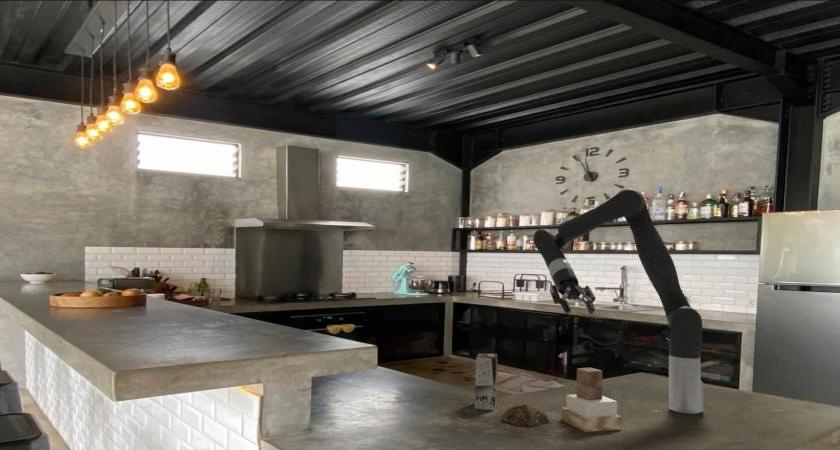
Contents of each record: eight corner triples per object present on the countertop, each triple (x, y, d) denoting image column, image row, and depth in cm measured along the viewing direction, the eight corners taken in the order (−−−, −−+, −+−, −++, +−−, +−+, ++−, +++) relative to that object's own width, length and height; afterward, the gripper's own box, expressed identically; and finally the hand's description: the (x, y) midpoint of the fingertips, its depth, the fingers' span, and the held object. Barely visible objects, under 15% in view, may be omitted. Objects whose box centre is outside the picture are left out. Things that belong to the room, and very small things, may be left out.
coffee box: (495, 410, 175) (496, 357, 176) (474, 409, 176) (475, 356, 177) (497, 403, 184) (498, 353, 185) (477, 402, 185) (478, 352, 186)
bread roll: (519, 413, 174) (519, 397, 174) (554, 422, 165) (554, 405, 166) (492, 421, 165) (493, 403, 165) (528, 431, 156) (528, 412, 157)
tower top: (595, 406, 170) (595, 393, 170) (616, 415, 160) (617, 401, 161) (566, 408, 167) (566, 394, 167) (586, 417, 157) (586, 403, 158)
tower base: (596, 419, 171) (596, 405, 171) (621, 431, 159) (621, 416, 160) (561, 421, 167) (561, 407, 168) (584, 433, 156) (584, 418, 156)
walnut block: (590, 395, 167) (590, 367, 168) (602, 399, 163) (602, 370, 163) (576, 396, 165) (576, 368, 166) (588, 400, 161) (588, 371, 161)
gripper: (547, 266, 188) (565, 304, 177) (585, 267, 192) (605, 304, 181) (539, 282, 193) (556, 319, 181) (576, 282, 197) (595, 319, 185)
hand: (580, 312), depth 181 cm, fingers open, 8 cm apart
